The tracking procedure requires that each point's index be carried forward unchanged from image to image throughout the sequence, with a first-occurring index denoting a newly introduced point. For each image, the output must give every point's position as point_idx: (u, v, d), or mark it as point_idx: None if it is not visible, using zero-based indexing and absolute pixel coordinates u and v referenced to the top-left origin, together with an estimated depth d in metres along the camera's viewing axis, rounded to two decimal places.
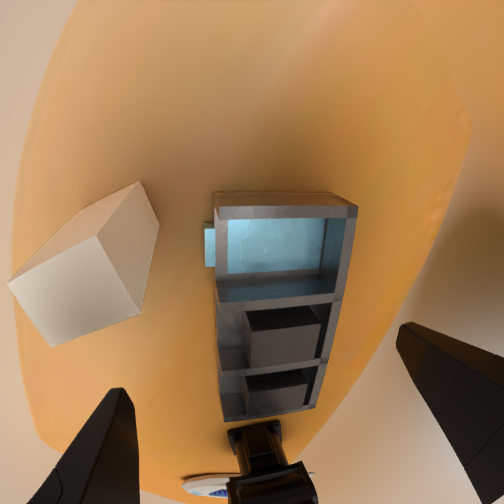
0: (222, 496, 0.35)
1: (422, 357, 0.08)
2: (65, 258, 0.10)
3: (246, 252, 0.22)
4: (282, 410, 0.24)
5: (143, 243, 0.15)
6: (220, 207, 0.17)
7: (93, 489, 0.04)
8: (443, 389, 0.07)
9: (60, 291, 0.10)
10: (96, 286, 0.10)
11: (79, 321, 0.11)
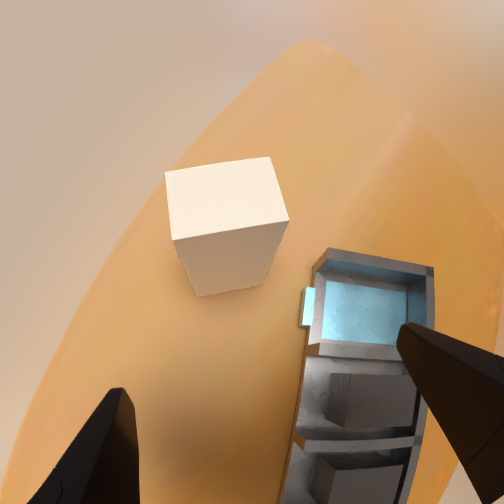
0: None
1: (422, 357, 0.08)
2: (237, 164, 0.14)
3: (340, 318, 0.22)
4: None
5: None
6: (329, 248, 0.20)
7: (93, 489, 0.04)
8: (443, 389, 0.07)
9: (220, 187, 0.13)
10: (256, 189, 0.13)
11: (224, 216, 0.13)
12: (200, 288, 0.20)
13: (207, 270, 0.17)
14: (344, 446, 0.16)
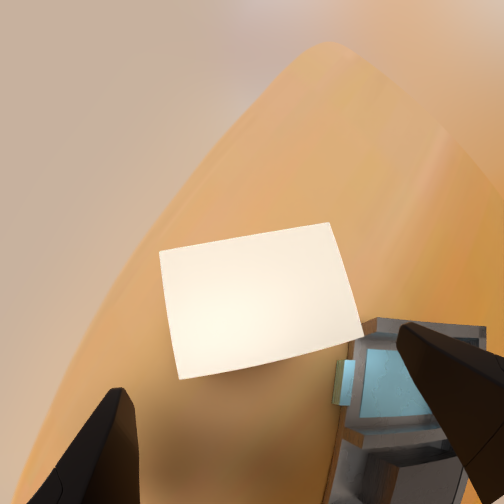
0: None
1: (422, 357, 0.08)
2: (280, 238, 0.09)
3: (381, 392, 0.16)
4: None
5: None
6: (378, 318, 0.15)
7: (93, 488, 0.04)
8: (443, 389, 0.07)
9: (253, 282, 0.08)
10: (313, 284, 0.08)
11: (264, 337, 0.08)
12: None
13: None
14: None
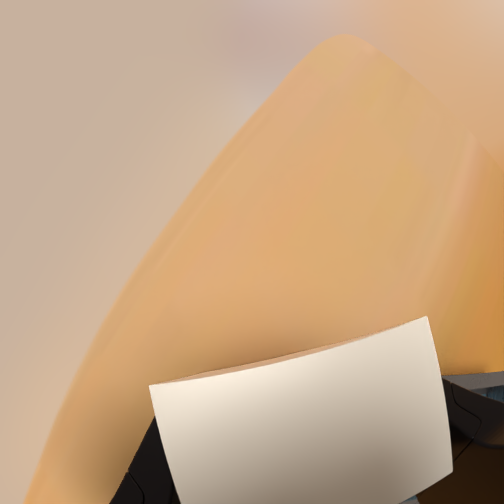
0: None
1: None
2: (359, 355, 0.05)
3: None
4: None
5: None
6: None
7: (174, 489, 0.05)
8: None
9: (316, 434, 0.04)
10: (402, 422, 0.04)
11: None
12: None
13: None
14: None
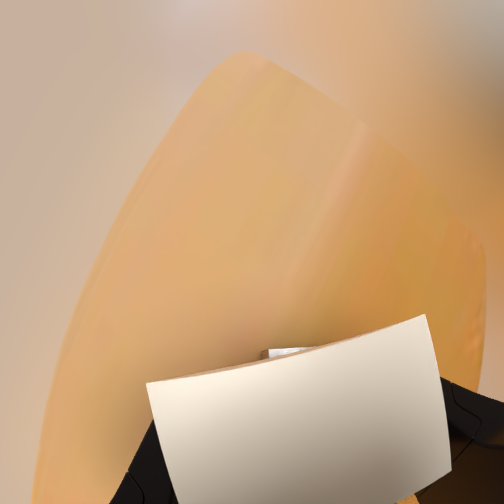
0: None
1: None
2: (356, 353, 0.05)
3: None
4: None
5: None
6: (269, 349, 0.18)
7: None
8: None
9: (314, 432, 0.04)
10: (400, 420, 0.04)
11: None
12: None
13: None
14: None
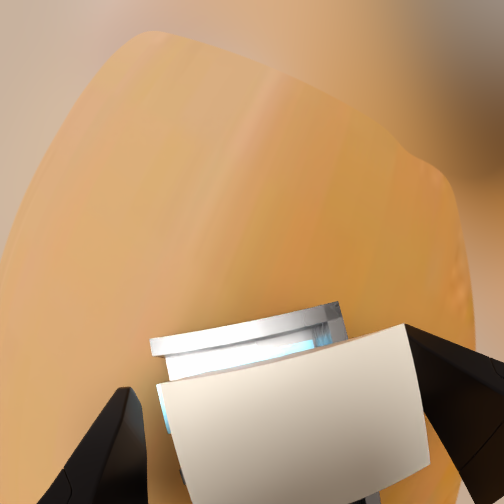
0: None
1: (416, 360, 0.08)
2: (340, 357, 0.05)
3: None
4: None
5: None
6: (150, 339, 0.13)
7: (102, 489, 0.04)
8: (437, 392, 0.07)
9: (303, 425, 0.05)
10: (380, 417, 0.05)
11: (315, 489, 0.04)
12: None
13: None
14: None
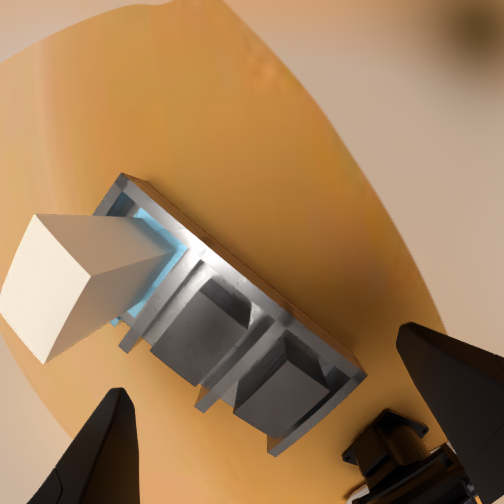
0: None
1: (422, 357, 0.08)
2: (21, 251, 0.09)
3: None
4: (306, 409, 0.17)
5: (128, 246, 0.14)
6: None
7: (93, 489, 0.04)
8: (443, 389, 0.07)
9: (28, 289, 0.09)
10: (48, 265, 0.09)
11: (49, 316, 0.09)
12: (127, 307, 0.18)
13: (105, 315, 0.14)
14: (223, 386, 0.18)
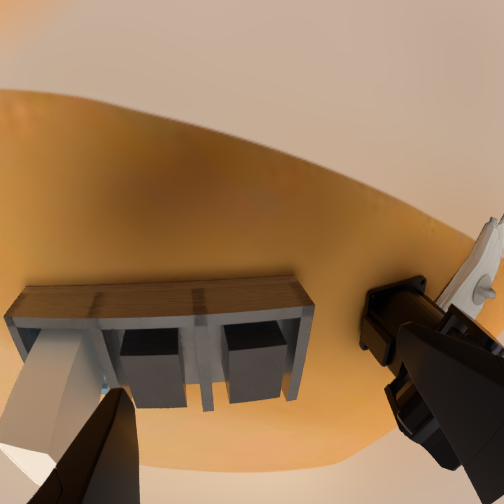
0: None
1: (422, 357, 0.08)
2: (11, 458, 0.09)
3: None
4: (280, 367, 0.18)
5: (51, 378, 0.13)
6: None
7: (93, 489, 0.04)
8: (443, 389, 0.07)
9: (36, 471, 0.09)
10: (28, 458, 0.09)
11: None
12: (99, 388, 0.18)
13: None
14: (206, 388, 0.19)
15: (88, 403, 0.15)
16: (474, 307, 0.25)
